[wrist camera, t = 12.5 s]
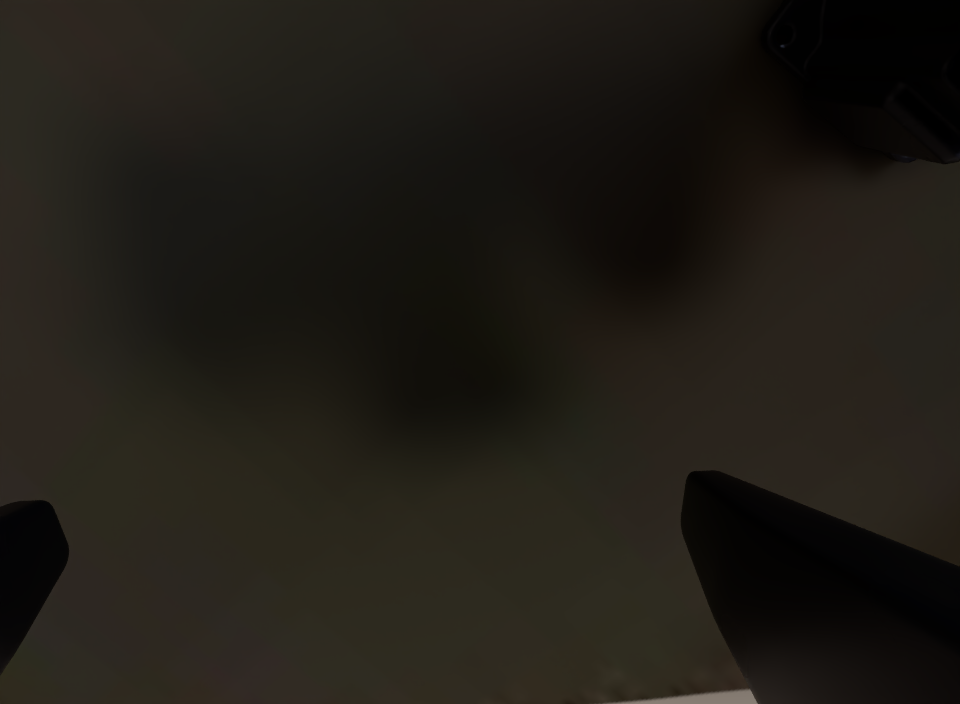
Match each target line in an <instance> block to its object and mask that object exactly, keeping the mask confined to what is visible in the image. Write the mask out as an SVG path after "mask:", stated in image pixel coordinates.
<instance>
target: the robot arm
mask: <svg viewBox="0 0 960 704" xmlns="http://www.w3.org/2000/svg"><path fill="white" fill-rule="evenodd" d="M782 26H784V27H785V28H786V30H787V37H786V39H785V41H784V42H783V43H782V44H779V43H778V42H777V40H776V33H777V31H778V29H779V28H780V27H782ZM761 41H762V46H763V48H764V49H765V50H766V52H768V53H769V54H770V55H771V56H772V57H773V58H775V59H776V60H777V61H778V62H779V63H780V64H781V65H783V66H784V67H785V68H786V69H787V70H788V71H790V72H791V73H792V74H793V75H794V76H795V77H796V78H798V79H799V80H800V81H801V82H802V83H803V84H805V86H804V87H803V88H802V96H803V100H804V101H805V102H806V103H808V104H809V105H810V106H811V107H812V108H813V109H815V110H816V111H817V112H818V113H819V114H820V115H822V116H823V117H824V118H825V119H826V120H827V121H829V122H830V123H831V124H832V125H833V126H834V127H836V128H837V129H838V130H839V131H840V132H841V133H843V134H844V135H845V136H846V137H847V138H848V139H850V140H851V141H852V142H853V143H854V144H856V145H857V146H861V147H866V148H871V149H875V150H880V151H882V152H883V153H884V154H885V155H887V156H888V157H889V158H890V159H892V160H894V161H898V162H903V163H906V162H911V161H914V160H916V159H922V160H926V161H931V162H936V163H940V164H949V163H955V162H959V161H960V0H784V1H783V3H782V4H781V5H780V7H779V8H778V9H777V11H776V12H775V13H774V15H773V16H772V17H771V19H770V20H769V21H768V23H767V24H766V26H765V28H764V29H763V31H762V37H761ZM681 529H682V534H683V537H684V540H685V543H686V545H687V548H688V551H689V553H690V556H691V559H692V561H693V564H694V567H695V569H696V572H697V575H698V577H699V580H700V583H701V585H702V588H703V591H704V594H705V596H706V599H707V602H708V604H709V607H710V609H711V612H712V614H713V617H714V619H715V621H716V623H717V625H718V627H719V630H720V632H721V634H722V636H723V638H724V640H725V641H726V643H727V645H728V647H729V649H730V651H731V653H732V655H733V657H734V659H735V661H736V663H737V665H738V667H739V668H740V670H741V672H742V674H743V676H744V678H745V680H746V682H747V684H748V686H749V688H750V690H751V691H752V693H753V695H754V697H755V699H756V701H757V703H758V704H960V567H959V566H957V565H954V564H951V563H949V562H946V561H944V560H941V559H939V558H936V557H934V556H931V555H929V554H926V553H924V552H921V551H919V550H916V549H914V548H911V547H909V546H906V545H904V544H901V543H899V542H896V541H894V540H891V539H889V538H886V537H883V536H881V535H878V534H876V533H873V532H871V531H868V530H866V529H863V528H861V527H858V526H856V525H853V524H851V523H848V522H846V521H843V520H841V519H838V518H836V517H833V516H831V515H828V514H826V513H823V512H821V511H818V510H815V509H813V508H810V507H808V506H805V505H803V504H800V503H798V502H795V501H793V500H790V499H788V498H785V497H783V496H780V495H778V494H775V493H773V492H770V491H768V490H765V489H763V488H760V487H758V486H755V485H753V484H750V483H747V482H745V481H742V480H740V479H737V478H735V477H732V476H730V475H727V474H725V473H722V472H720V471H715V470H710V471H693V472H691V473H690V474H689V475H688V477H687V479H686V484H685V491H684V498H683V505H682V512H681ZM68 556H69V546H68V543H67V540H66V537H65V535H64V532H63V530H62V528H61V525H60V523H59V520H58V518H57V515H56V513H55V510H54V508H53V506H52V505H51V504H50V503H49V502H47V501H44V500H35V501H18V502H13V503H10V504H7V505H4V506H1V507H0V675H1V673H2V672H3V670H4V669H5V667H6V666H7V665H8V663H9V662H10V660H11V659H12V657H13V656H14V654H15V652H16V651H17V649H18V647H19V646H20V644H21V643H22V641H23V639H24V637H25V636H26V634H27V632H28V631H29V629H30V627H31V625H32V624H33V622H34V620H35V618H36V617H37V615H38V613H39V611H40V610H41V608H42V606H43V605H44V603H45V601H46V599H47V598H48V596H49V594H50V592H51V591H52V589H53V587H54V585H55V584H56V582H57V580H58V579H59V577H60V575H61V573H62V572H63V570H64V568H65V566H66V564H67V561H68Z"/></svg>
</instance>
